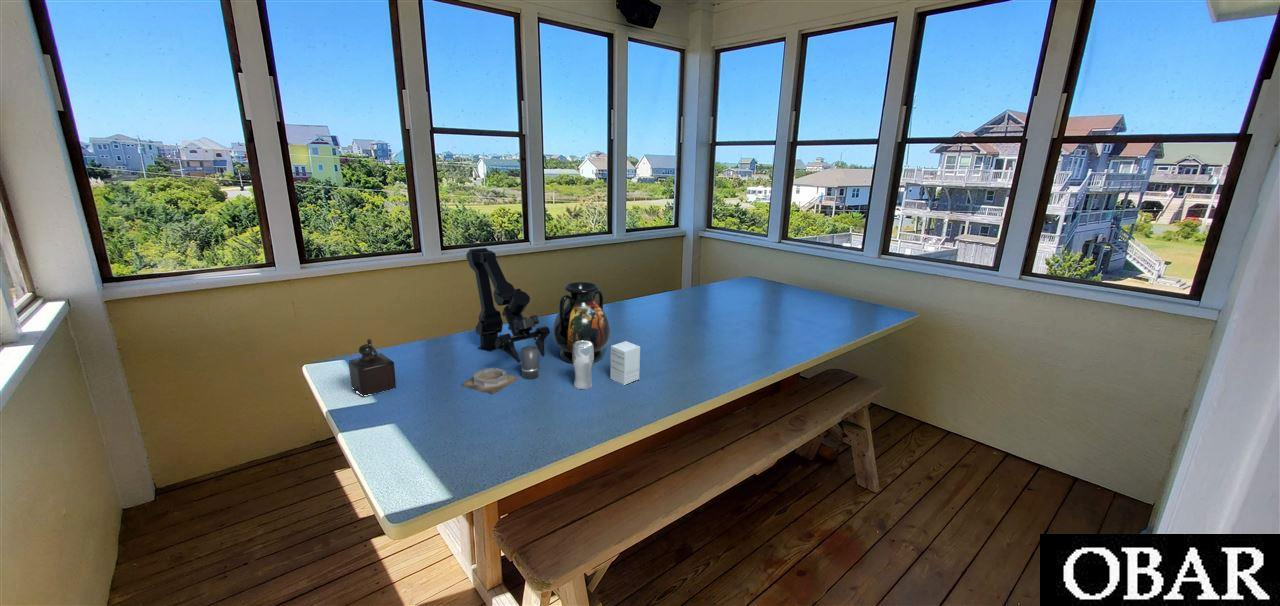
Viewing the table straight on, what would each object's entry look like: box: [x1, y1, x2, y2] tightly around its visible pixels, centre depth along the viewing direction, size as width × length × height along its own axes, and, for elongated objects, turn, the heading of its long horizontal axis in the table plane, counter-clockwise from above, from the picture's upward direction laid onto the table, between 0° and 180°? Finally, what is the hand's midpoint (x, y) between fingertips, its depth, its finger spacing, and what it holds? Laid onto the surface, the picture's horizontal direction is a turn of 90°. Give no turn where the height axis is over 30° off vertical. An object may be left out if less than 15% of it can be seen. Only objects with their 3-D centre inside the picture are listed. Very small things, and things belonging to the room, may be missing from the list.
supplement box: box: [609, 340, 641, 386], centre depth 175 cm, size 7×7×13 cm
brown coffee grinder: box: [348, 338, 397, 396], centre depth 160 cm, size 16×11×18 cm
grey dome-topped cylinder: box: [520, 345, 540, 380], centre depth 176 cm, size 6×6×10 cm
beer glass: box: [572, 340, 594, 390], centre depth 169 cm, size 7×7×15 cm
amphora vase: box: [552, 281, 611, 364], centre depth 192 cm, size 22×22×28 cm
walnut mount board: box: [462, 367, 518, 395], centre depth 170 cm, size 12×12×3 cm
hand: (531, 359), depth 174 cm, fingers open, 9 cm apart
